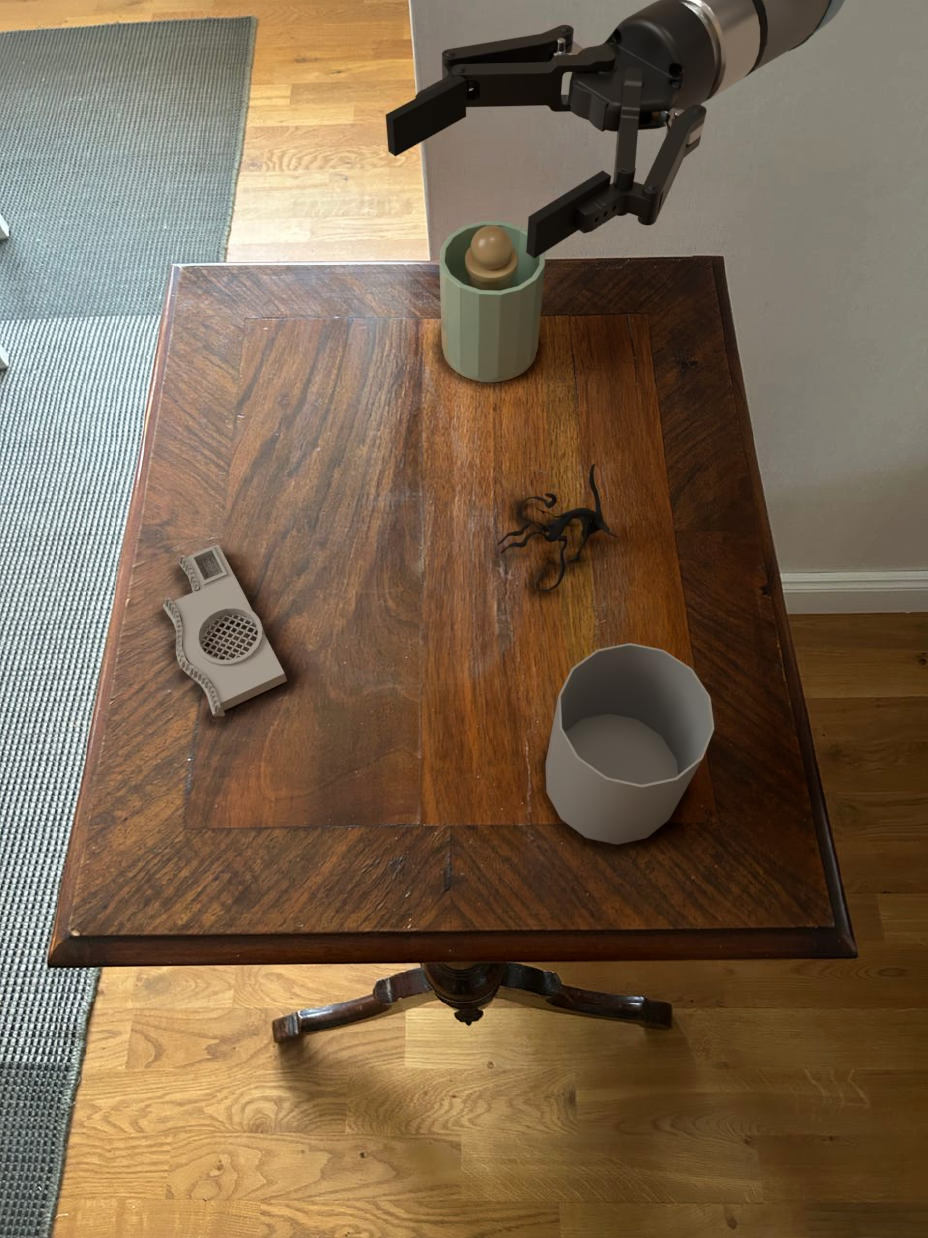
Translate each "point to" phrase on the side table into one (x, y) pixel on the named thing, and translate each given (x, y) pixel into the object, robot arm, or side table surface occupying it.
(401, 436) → the side table surface
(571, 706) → the cup
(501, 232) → the game piece
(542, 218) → the robot arm
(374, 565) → the side table surface
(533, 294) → the tumbler
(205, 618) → the lattice window wall
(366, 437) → the side table surface
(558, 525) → the creature
